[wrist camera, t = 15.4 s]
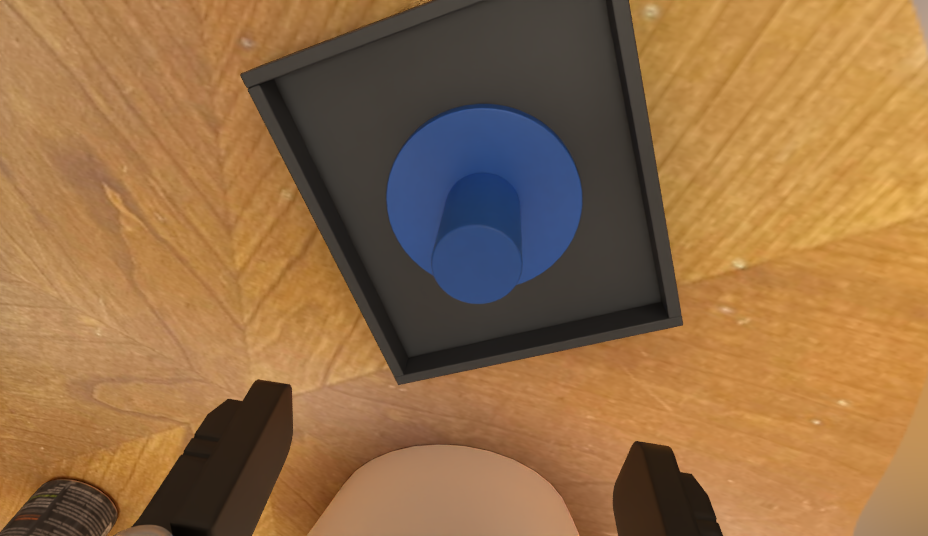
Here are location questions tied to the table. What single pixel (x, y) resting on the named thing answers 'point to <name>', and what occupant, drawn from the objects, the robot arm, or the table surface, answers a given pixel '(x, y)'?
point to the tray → (466, 83)
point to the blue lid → (484, 200)
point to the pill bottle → (64, 512)
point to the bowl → (445, 497)
